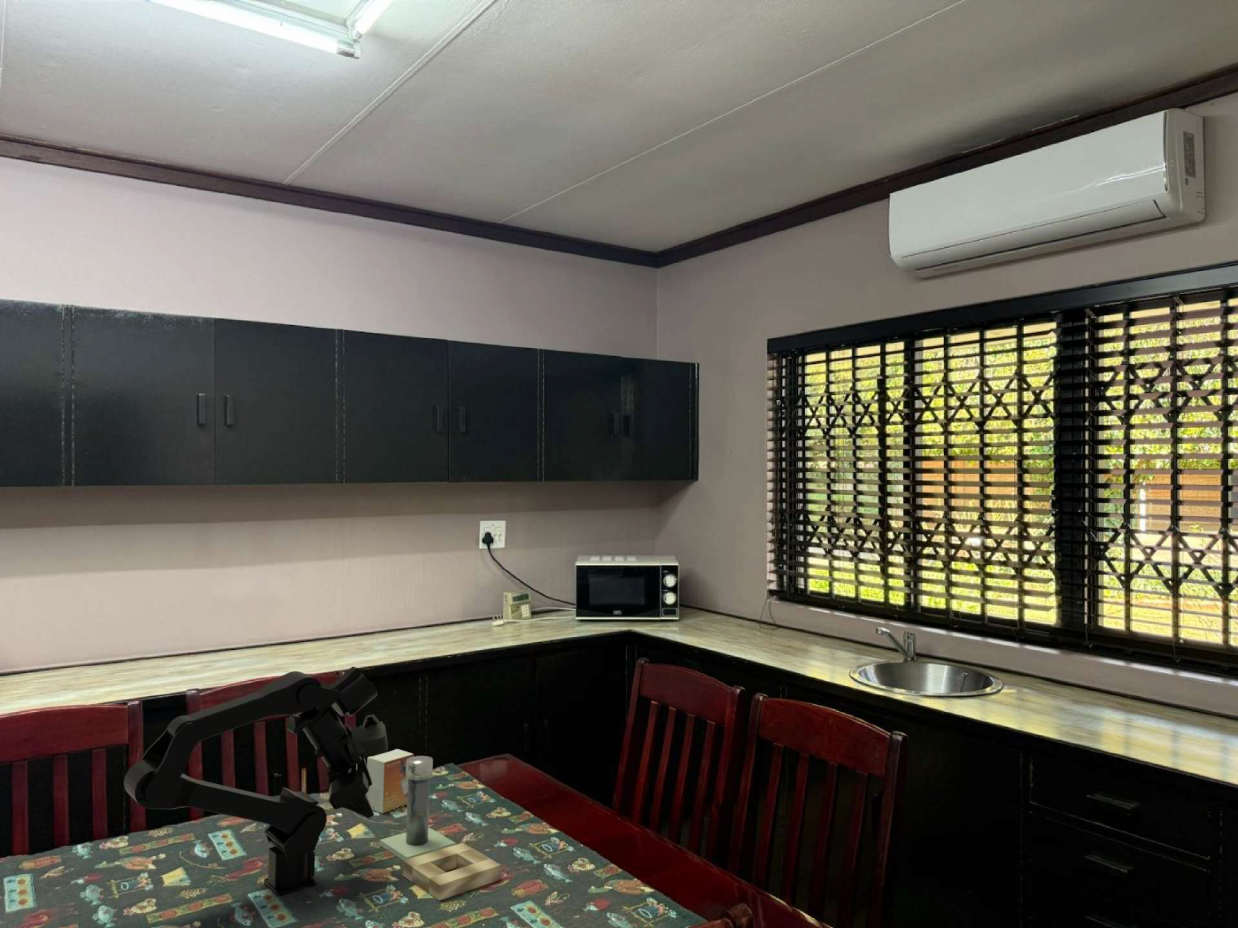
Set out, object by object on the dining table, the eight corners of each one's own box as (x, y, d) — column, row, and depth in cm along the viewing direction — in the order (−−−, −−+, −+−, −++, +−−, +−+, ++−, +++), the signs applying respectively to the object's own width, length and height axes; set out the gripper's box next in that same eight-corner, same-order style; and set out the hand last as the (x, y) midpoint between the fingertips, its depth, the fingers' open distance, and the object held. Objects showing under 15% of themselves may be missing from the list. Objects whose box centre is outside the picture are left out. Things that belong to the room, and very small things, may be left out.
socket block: (439, 900, 145) (439, 884, 145) (402, 875, 154) (403, 860, 154) (500, 879, 153) (500, 864, 153) (462, 856, 162) (462, 842, 162)
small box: (382, 814, 182) (383, 762, 182) (365, 807, 185) (366, 756, 185) (413, 803, 188) (414, 753, 188) (396, 797, 191) (397, 747, 192)
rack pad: (406, 862, 159) (406, 857, 159) (379, 844, 166) (380, 839, 166) (455, 848, 166) (455, 842, 166) (427, 831, 173) (427, 826, 173)
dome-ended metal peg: (423, 847, 163) (425, 764, 164) (399, 844, 164) (401, 762, 165) (434, 837, 168) (437, 757, 168) (410, 834, 169) (413, 754, 169)
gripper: (372, 740, 147) (415, 809, 152) (369, 685, 164) (408, 749, 170) (309, 773, 145) (355, 842, 151) (312, 715, 163) (353, 779, 168)
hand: (370, 800), depth 160 cm, fingers open, 9 cm apart
